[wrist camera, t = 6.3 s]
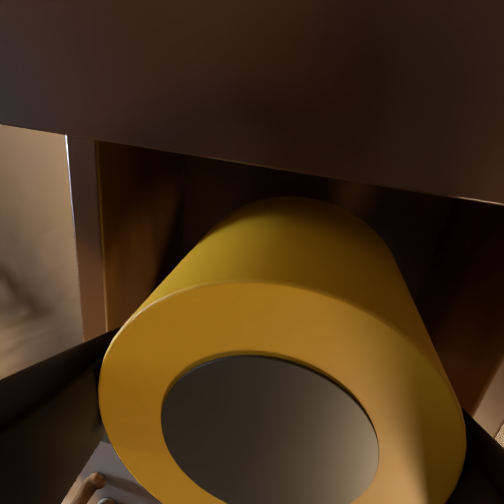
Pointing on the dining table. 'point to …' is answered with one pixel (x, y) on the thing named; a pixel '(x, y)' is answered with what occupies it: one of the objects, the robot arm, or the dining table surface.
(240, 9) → the cabinet
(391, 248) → the drawer
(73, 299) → the dining table surface
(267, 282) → the tape roll
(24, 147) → the dining table surface
